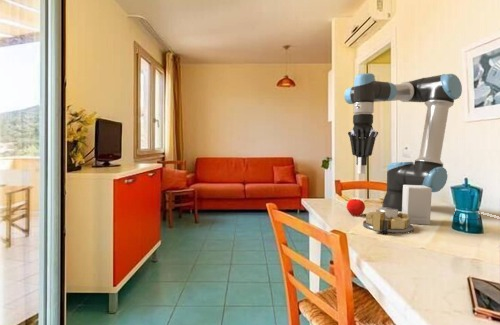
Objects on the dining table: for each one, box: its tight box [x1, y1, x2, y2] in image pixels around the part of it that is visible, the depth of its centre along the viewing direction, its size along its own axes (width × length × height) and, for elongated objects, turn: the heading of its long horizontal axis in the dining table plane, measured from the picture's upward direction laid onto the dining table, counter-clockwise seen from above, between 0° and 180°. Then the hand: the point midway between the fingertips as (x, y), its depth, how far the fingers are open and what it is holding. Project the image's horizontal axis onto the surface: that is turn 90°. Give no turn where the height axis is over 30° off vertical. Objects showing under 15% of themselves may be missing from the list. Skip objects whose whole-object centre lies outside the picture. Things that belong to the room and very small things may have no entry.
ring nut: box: [365, 209, 411, 232], centre depth 126 cm, size 20×15×6 cm
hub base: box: [362, 207, 414, 236], centre depth 127 cm, size 20×18×7 cm
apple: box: [346, 198, 366, 217], centre depth 147 cm, size 8×8×7 cm
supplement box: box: [401, 185, 433, 226], centre depth 136 cm, size 9×9×15 cm
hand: (361, 173), depth 131 cm, fingers closed
